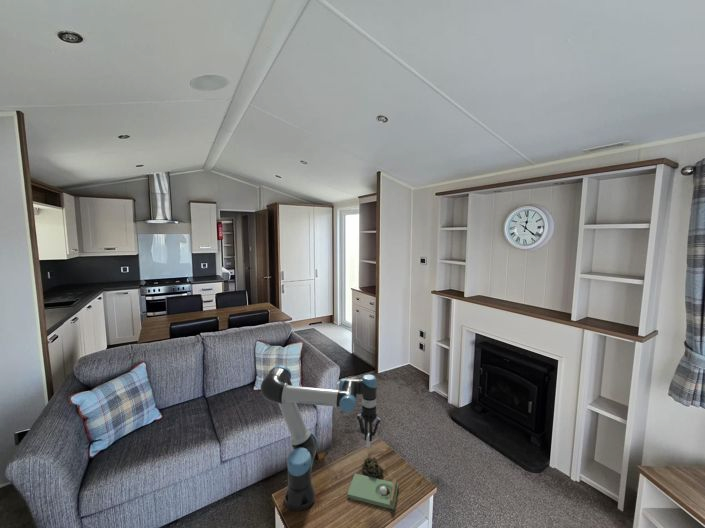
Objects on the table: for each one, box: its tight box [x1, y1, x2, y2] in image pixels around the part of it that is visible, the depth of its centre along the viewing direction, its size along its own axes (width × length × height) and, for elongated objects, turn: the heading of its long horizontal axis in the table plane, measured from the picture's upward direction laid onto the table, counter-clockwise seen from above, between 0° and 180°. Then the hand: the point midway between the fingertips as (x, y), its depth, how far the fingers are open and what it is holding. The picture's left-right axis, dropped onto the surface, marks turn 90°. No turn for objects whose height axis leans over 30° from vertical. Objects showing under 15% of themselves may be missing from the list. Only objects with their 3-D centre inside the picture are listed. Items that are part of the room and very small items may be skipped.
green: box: [346, 473, 399, 510], centre depth 163 cm, size 24×14×4 cm, turn 74°
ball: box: [379, 486, 388, 496], centre depth 161 cm, size 4×4×4 cm
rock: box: [361, 456, 384, 478], centre depth 176 cm, size 13×10×10 cm
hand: (368, 445), depth 168 cm, fingers closed
